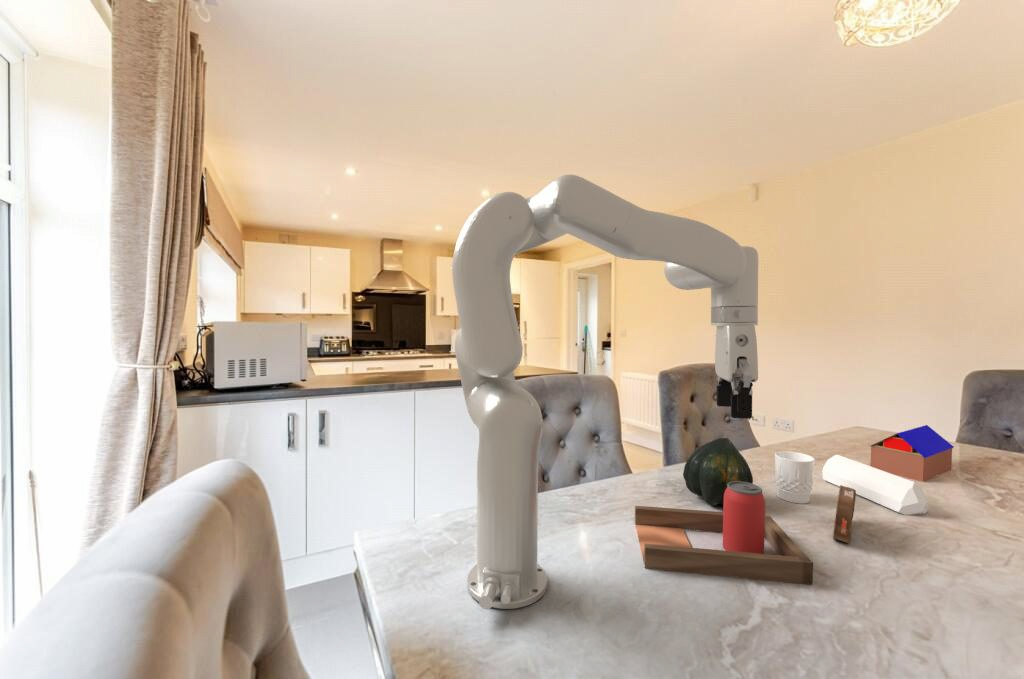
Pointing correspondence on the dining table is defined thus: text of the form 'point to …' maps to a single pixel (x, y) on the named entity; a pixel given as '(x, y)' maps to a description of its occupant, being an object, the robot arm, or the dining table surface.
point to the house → (913, 454)
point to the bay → (674, 553)
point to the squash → (715, 470)
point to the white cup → (794, 476)
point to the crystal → (876, 485)
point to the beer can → (743, 518)
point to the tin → (844, 514)
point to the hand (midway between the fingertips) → (733, 411)
